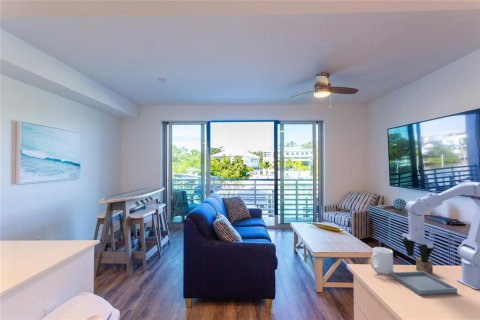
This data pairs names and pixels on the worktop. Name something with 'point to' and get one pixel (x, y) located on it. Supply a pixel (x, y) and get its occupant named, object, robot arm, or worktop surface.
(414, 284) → the tray
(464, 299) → the worktop surface
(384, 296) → the worktop surface
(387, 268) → the cup
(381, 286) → the worktop surface
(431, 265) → the block
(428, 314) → the worktop surface
